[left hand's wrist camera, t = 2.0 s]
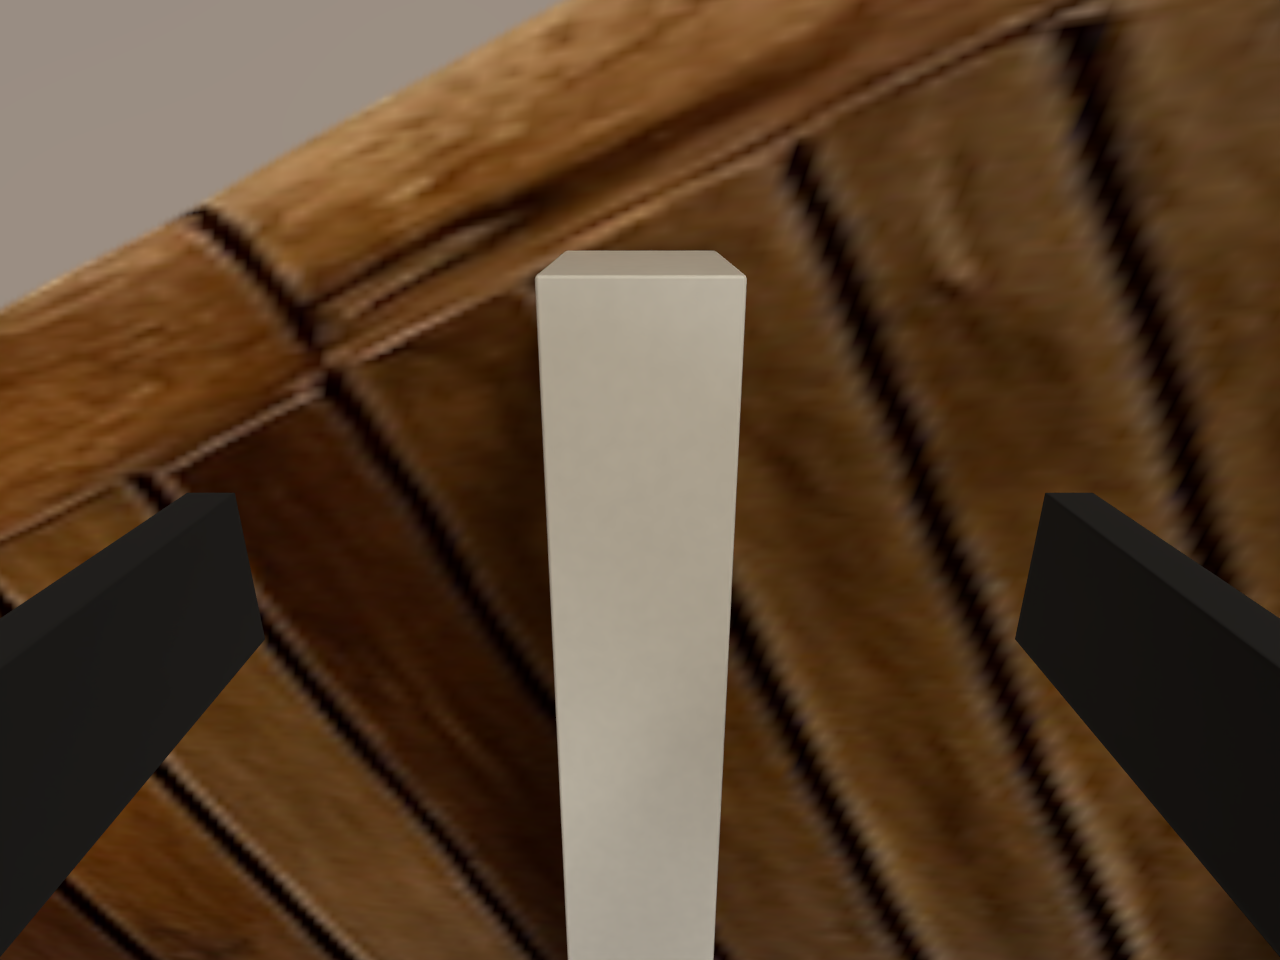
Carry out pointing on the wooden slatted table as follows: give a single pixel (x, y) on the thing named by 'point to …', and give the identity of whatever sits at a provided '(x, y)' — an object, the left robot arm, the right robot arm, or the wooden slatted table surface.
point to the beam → (640, 584)
